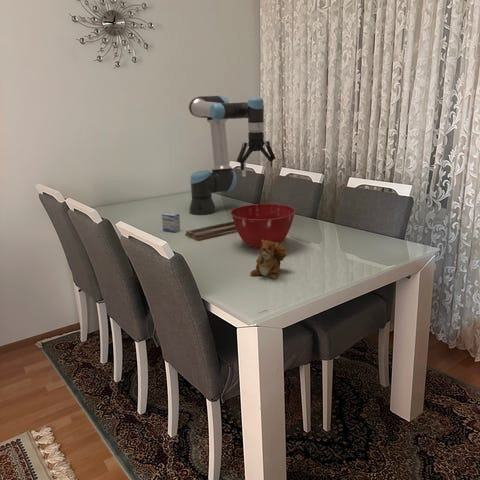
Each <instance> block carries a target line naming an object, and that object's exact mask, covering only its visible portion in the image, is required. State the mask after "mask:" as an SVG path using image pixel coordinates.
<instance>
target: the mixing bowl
mask: <svg viewBox="0 0 480 480" xmlns="http://www.w3.org/2000/svg"><path fill="white" fill-rule="evenodd" d="M295 214H296V209H295V208H294V207H292V206H289V205H285V204H279V203H255V204H247V205H243V206H242V205H241V206H238V207H235V208H233V209H231V210H230V215H231V217H232V221H234V224H235V227H236V229H237V231H238V232H237V233H238V235H239V237H240V239H241V241H242V242H244V244H246V245H247V246H250V247H251V248H254V249H259V250H260V249H261V247H262V240H264V241H266V240H267V241H272V242H273V243H277V242H278V245H280V244H282V243H283V242H284V241H285V239H286V237H287V236H288V234H289V231H290V230H291V229H290V228H291V226H292V224H293V221H294V216H295Z"/></svg>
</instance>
